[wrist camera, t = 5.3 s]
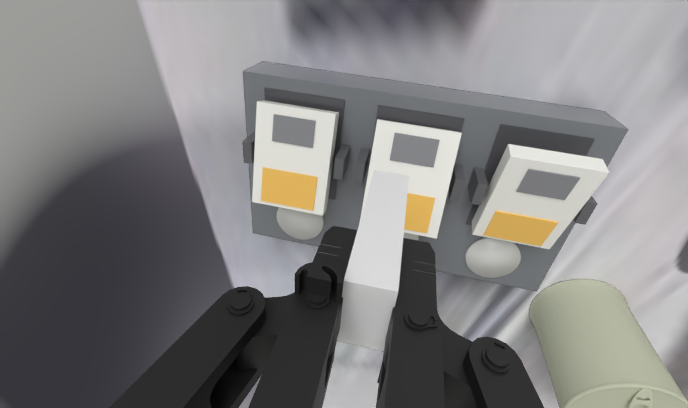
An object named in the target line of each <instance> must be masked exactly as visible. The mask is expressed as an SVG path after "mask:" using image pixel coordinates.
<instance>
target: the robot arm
mask: <svg viewBox="0 0 688 408" xmlns="http://www.w3.org/2000/svg"><path fill="white" fill-rule="evenodd" d="M408 182H409V176H407V175H401V174H395V173H389V172H383V171H377V170H374V172H373V175H372V179H371V183H370V186H369V190H368V194H367V197H366V201H365V205H364V208H363V212H362V216H361V219H360V223H359V227H358V230H354V229H349V228H343V227H338V226H332V227H331V228H330V229H329V230H327V231H326V232H325V233H324V235H323V238H322V240H321V243H320V245H319V248H318V250H317V253H316V255H315V258H314V260H313V262H312V263H308V264H305V265H304V266H302V267H300V268H299V269H298V270H297V272H296V273H295V292H294V293H293V294H290V295H287V296H282V297H271V298H264V296H263V294H262V293H261V292H260V291H258V290H257V289H255V288H251V287H237V288H234V289H231V290H229V291H228V292H226V293H225V294H223V295H222V296H221V297H220V298H219V299H218V300H217V301H216V302H215V303H214V304H213V305H212V306H211V307H210V308H209V309H208V310H207V311H206V312H205V313H204V314H203V315H202V316H201V317H200V318H199V319H198V320H197V321H196V322H195V323H194V324H193V325H192V326H191V327H190V328H189V329H188V330H187V331H186V332H185V333H184V334H183V335H182V336H181V337H180V338H179V339H178V340H177V341H176V342H175V343H174V344H173V345H172V346H171V347H170V348H169V349H168V350H167V351H166V352H165V353H164V354H163V355H162V356H161V357H160V358H159V359H158V360H157V361H156V362H155V363H154V364H153V365H152V366H151V367H150V368H149V369H148V370H147V371H146V372H145V373H144V374H143V375H142V376H141V377H140V378H139V379H138V380H137V381H136V382H135V383H134V384H133V385H132V386H131V387H130V388H129V389H127V390H126V392H124V394H123V395H122V396H121V397H119V399H117V401H115V402H114V404H112V406H110V407H109V408H239V406H240V405H241V403H242V402H243V400H244V399H245V398H246V396H247V395H248V393H249V392H250V390H251V389H252V387H253V386H254V385H255V383H256V382H257V380H258V379H259V378H260V376H261V375H262V376H261V379H260V381H259V383H258V386H257V388H256V391H255V393H254V396H253V398H252V400H251V403H250V405H249V408H322V405H323V401H324V397H325V393H326V389H327V384H328V380H329V376H330V372H331V368H332V364H333V360H334V352H335V346H336V342H337V341H339V342H343V343H347V344H352V345H356V346H361V347H365V348H370V349H374V350H378V351H383V352H384V356H383V362H382V366H381V370H380V374H379V378H378V382H377V383H379V387H378V395H377V403H376V408H544V407H543V404H542V402H541V400H540V398H539V396H538V394H537V392H536V390H535V388H534V386H533V384H532V382H531V380H530V378H529V376H528V374H527V372H526V370H525V368H524V366H523V363H522V361H521V360H520V358H519V357H518V355H517V354H516V352H515V351H514V350H513V349H512V348H511V347H509V346H508V345H507V344H506V343H504V342H502V341H500V340H498V339H496V338H490V337H482V338H477V339H476V340H475V341H473V342H472V341H470V340H468V339H466V338H464V337H462V336H460V335H458V334H456V333H455V332H453V331H451V330H450V329H449V328H448V327H447V326H446V325H445V324H444V323H443V322H442V320H441V319H440V317H439V315H438V312H437V300H436V275H435V274H436V266H435V264H436V262H435V252H434V250H433V248H432V247H431V245H430V243H429V242H423V241H418V240H413V239H407V238H403V236H404V225H405V214H406V204H407V193H408Z"/></svg>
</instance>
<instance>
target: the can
mask: <svg viewBox="0 0 688 408" xmlns="http://www.w3.org/2000/svg"><path fill="white" fill-rule="evenodd" d="M529 315H530V319H531V321H532V323H533V324H534V327H535V330H536V333H537V336H538V339H539V342H540V345H541V348H542V351H543V354H544V358H545V361H546V364H547V367H548V371H549V374H550V377H551V380H552V384H553V387H554V391H555V394H556V397H557V401H558V404H559V408H688V401H687V399H686V398H685V397H684V395H683V394H682V392H681V391H680V389H679V388H678V386H677V385H676V383H675V381H674V380H673V378H672V377H671V375H670V373H669V372H668V370H667V369H666V367H665V366H664V364H663V362H662V361H661V359H660V358H659V356H658V354H657V353H656V351H655V349H654V348H653V346H652V345H651V343H650V341H649V340H648V338H647V336H646V335H645V333H644V332H643V330H642V328H641V327H640V325H639V323H638V322H637V320H636V319H635V317H634V315H633V314H632V312H631V310H630V308H629V306H628V304H627V301H626V299H625V297H624V295H623V294H622V293H621V292H620V291H619V290H618V289H616V288H615V287H613V286H611V285H610V284H607V283H604V282H601V281H597V280H591V279H574V280H567V281H563V282H559V283H556V284H554V285H551V286H549V287H547V288H546V289H544V290H543V291H541V292H540V293H539V294H538V295H537V296H536V297H535V298H534V299H533V301H532V303H531V305H530V310H529Z"/></svg>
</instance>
